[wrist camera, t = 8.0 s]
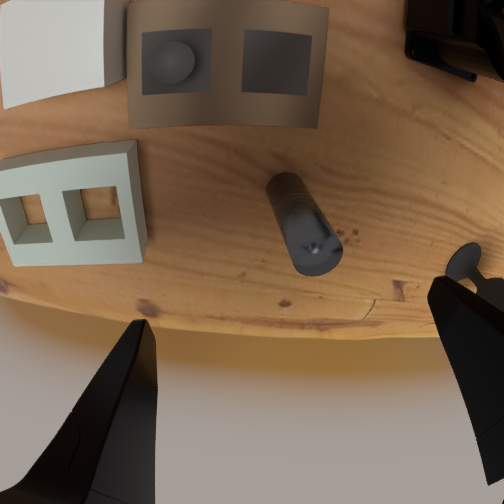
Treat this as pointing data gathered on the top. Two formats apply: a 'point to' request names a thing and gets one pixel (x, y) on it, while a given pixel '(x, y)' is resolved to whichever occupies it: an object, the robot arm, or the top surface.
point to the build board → (73, 206)
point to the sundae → (476, 274)
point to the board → (224, 62)
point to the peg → (303, 226)
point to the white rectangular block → (60, 47)
